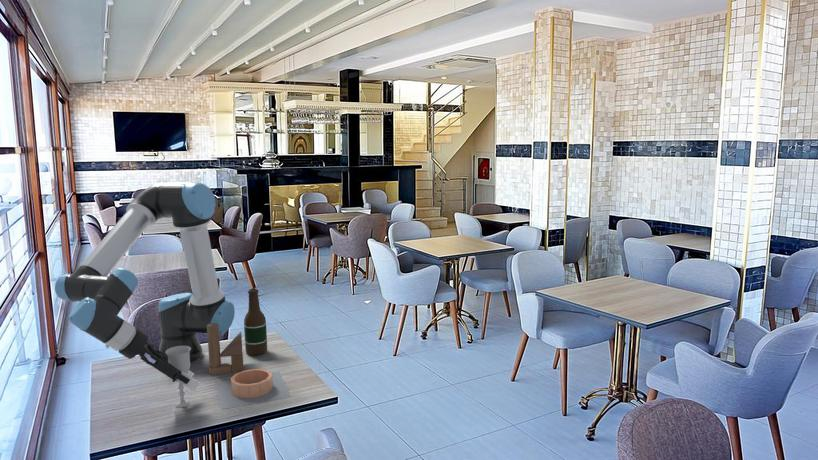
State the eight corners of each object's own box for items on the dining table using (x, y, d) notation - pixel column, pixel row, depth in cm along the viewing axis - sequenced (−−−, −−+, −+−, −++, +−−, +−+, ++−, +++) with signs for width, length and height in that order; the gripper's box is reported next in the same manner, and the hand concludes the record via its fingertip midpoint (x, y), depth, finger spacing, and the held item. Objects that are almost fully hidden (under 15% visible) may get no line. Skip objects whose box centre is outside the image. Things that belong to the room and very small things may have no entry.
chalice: (171, 405, 165) (166, 347, 162) (195, 401, 167) (191, 344, 164) (169, 416, 158) (164, 356, 155) (195, 412, 160) (190, 353, 157)
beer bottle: (245, 357, 201) (241, 292, 198) (246, 349, 209) (242, 287, 205) (267, 355, 203) (264, 291, 200) (267, 347, 211) (264, 285, 207)
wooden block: (243, 375, 186) (240, 323, 183) (209, 379, 183) (205, 326, 180) (243, 371, 189) (240, 320, 186) (210, 375, 186) (206, 323, 184)
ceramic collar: (230, 385, 175) (229, 372, 174) (269, 378, 179) (268, 366, 179) (234, 401, 164) (233, 388, 163) (275, 393, 168) (274, 381, 168)
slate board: (216, 386, 177) (215, 382, 177) (279, 376, 185) (279, 371, 185) (221, 414, 159) (220, 409, 159) (291, 401, 167) (291, 396, 166)
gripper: (113, 340, 159) (178, 381, 170) (121, 363, 143) (192, 406, 154) (132, 319, 161) (195, 360, 172) (142, 339, 145) (210, 383, 156)
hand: (193, 382), depth 163 cm, fingers open, 7 cm apart
